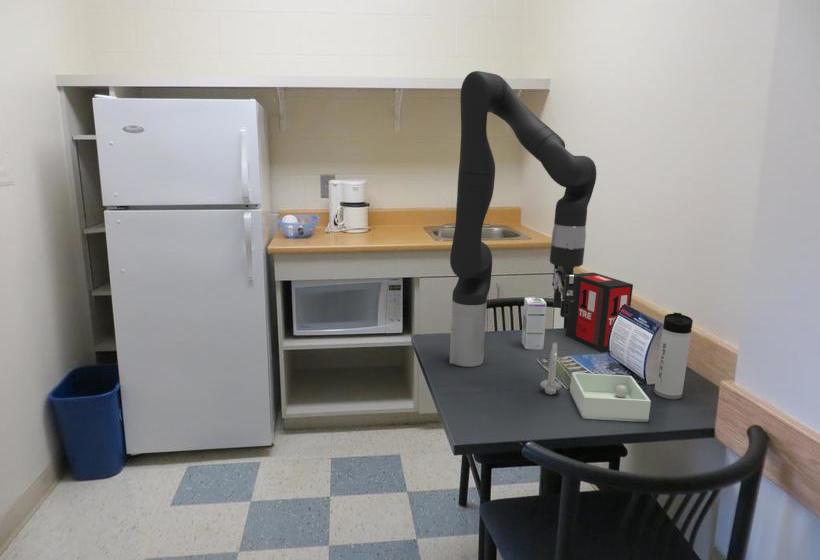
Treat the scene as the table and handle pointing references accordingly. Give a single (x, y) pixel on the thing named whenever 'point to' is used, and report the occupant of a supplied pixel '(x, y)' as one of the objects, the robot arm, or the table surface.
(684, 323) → the travel mug
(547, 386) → the screw
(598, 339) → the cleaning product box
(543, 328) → the syrup box
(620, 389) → the pebble
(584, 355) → the table surface
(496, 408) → the table surface
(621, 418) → the tub
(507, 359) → the table surface
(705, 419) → the table surface
